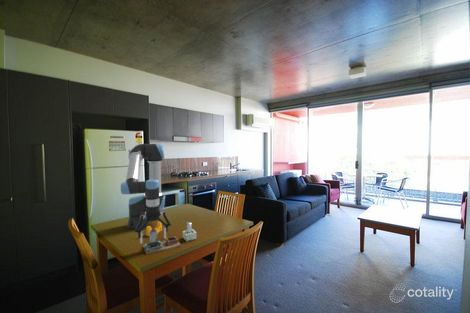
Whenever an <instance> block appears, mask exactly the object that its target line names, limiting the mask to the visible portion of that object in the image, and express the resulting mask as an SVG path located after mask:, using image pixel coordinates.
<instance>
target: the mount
mask: <svg viewBox="0 0 470 313" xmlns="http://www.w3.org/2000/svg"><path fill="white" fill-rule="evenodd" d="M142 247H143V250H144V252H145V254H146V255H147V256H148V255H152V254H156V253H160V252H164V251H167V250H171V249H172V250H173V249H177V248H180V247H182V244H181V243H180V241H179V239H178V237H177V236H175V235H174V236H171V237H170V236H169V237H166V238H165V240H161V241H160V240H157V247H153V248H150V242H148V243H145V244H143V245H142Z"/></svg>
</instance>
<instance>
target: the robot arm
mask: <svg viewBox="0 0 470 313" xmlns="http://www.w3.org/2000/svg"><path fill="white" fill-rule="evenodd" d="M127 158H128V165H127V166H128V167H127V173H126V178H125V179H126V180H125V181H124V182H122V183H121V184H120V193H121V195H135V196H132V197H129V199H128V220H127V223H126V229H129V230H134V233H137V238H138V239H139V243H140V244H143V230H144V229H145V228H146V227H147V226H149V222H150V223H151V222H156V221H158V222H161V223H162V226H163V237H164V239H166V238H167V233H168V232H169V230H168V228H169V227H170V226H171V223H170V221H169V219H168V218H167V216H166V212H165V211H164V209H165V202H166V195H164V193H163V192H162V171H161V170H162V167H161V166H162V164H161V163H162V162H163V160H164V159H165V152H164V146H163V144H161V143H139V144H137V145H136V146H134V147H132V148H131V149H130V151H129V153H128V157H127ZM143 159H144V160H146V162H147V163H148V164H149V166H148V168H149V169H148V170H149V173H148V174H149V176H148V177H149V179H148V180H143V181H140V172H141V164H142V161H143ZM137 194H140V195H137ZM160 211H161V212H160ZM160 216H162V217H163V219H164V220H165V221H164V220H162V219H161V218H160Z"/></svg>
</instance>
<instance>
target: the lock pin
mask: <svg viewBox="0 0 470 313" xmlns="http://www.w3.org/2000/svg"><path fill="white" fill-rule="evenodd" d="M192 227H193V226H192V222H190V221H187V222H186V230H187V234H190V233H192V229H193V228H192Z"/></svg>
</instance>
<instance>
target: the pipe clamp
mask: <svg viewBox="0 0 470 313" xmlns="http://www.w3.org/2000/svg"><path fill="white" fill-rule="evenodd" d="M145 229H146V230H145V232H146V233H145V234H146V237H150V231H151V230H152V229H153V228H152V226H150V225H147V226H145ZM154 229H155V230H157V235H158V234H159V232H161V231H163V224H162V223H161V222H160V221H157V223H156V226H155V228H154Z"/></svg>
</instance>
